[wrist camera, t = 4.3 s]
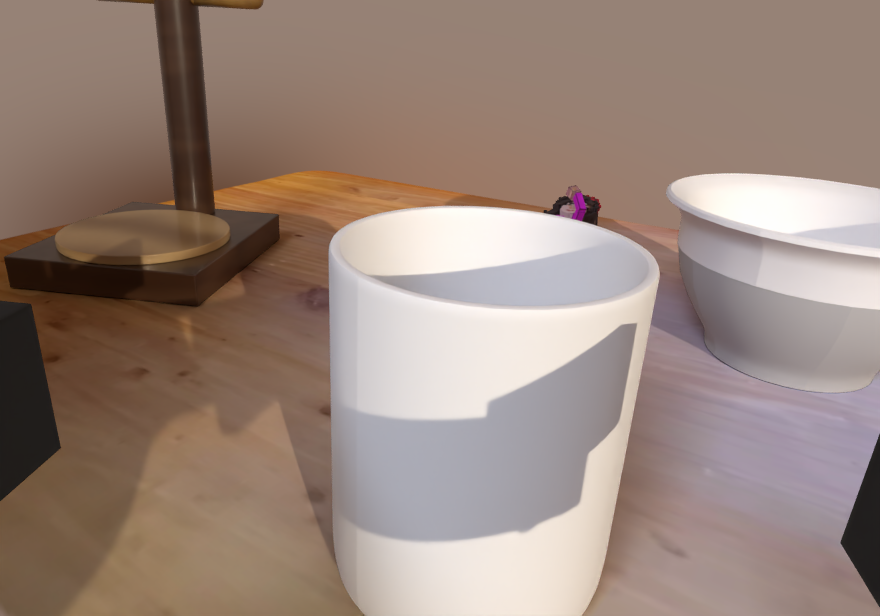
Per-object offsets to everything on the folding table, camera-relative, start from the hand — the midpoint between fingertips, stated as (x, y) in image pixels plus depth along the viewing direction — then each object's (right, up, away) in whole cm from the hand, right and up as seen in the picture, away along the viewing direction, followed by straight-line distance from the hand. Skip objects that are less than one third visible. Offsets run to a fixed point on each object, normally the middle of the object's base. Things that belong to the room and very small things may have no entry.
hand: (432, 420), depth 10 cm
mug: (+1, -6, +13) cm, 14 cm away
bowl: (+20, -1, +27) cm, 34 cm away
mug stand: (-19, +5, +36) cm, 41 cm away
